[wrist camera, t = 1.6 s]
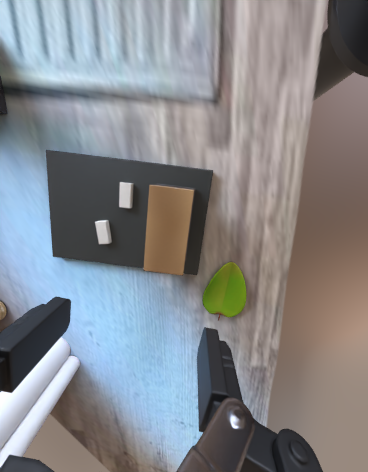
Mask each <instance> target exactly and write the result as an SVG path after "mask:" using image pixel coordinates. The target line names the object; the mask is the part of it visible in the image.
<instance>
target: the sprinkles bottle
mask: <svg viewBox="0 0 368 472" xmlns="http://www.w3.org/2000/svg"><path fill="white" fill-rule="evenodd" d="M6 312H7V311H6V307H5V305H4V304H3V303H2V302H1V301H0V320H1V319H3V318H4V317H5V316H6Z"/></svg>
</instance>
